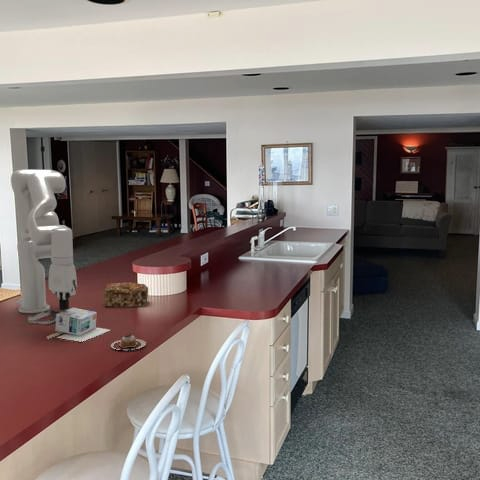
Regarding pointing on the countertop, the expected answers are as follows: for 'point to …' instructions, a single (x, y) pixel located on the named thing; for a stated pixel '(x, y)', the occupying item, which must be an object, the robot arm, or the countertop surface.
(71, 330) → the light bulb box
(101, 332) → the white flat sheet
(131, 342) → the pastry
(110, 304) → the bread
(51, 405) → the countertop surface
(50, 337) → the maple strip
